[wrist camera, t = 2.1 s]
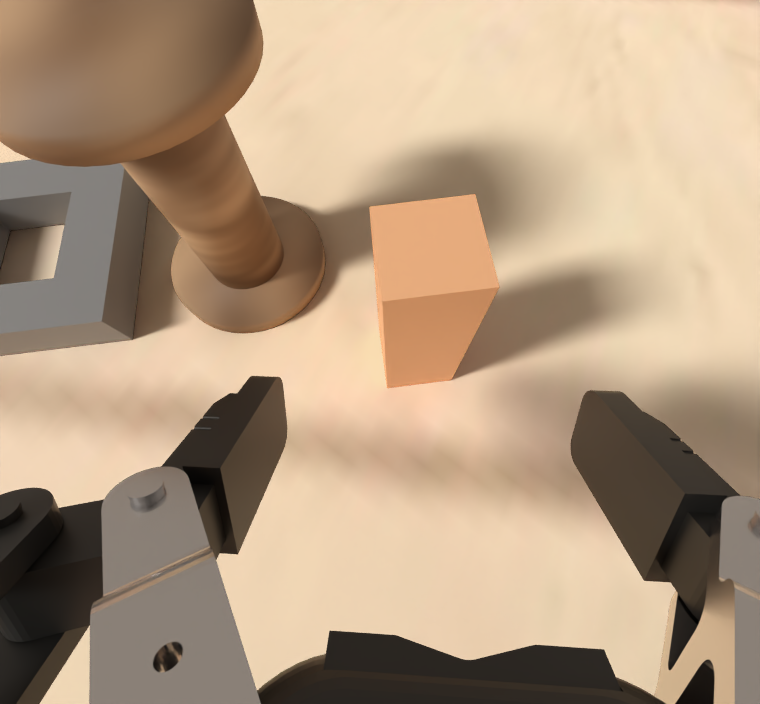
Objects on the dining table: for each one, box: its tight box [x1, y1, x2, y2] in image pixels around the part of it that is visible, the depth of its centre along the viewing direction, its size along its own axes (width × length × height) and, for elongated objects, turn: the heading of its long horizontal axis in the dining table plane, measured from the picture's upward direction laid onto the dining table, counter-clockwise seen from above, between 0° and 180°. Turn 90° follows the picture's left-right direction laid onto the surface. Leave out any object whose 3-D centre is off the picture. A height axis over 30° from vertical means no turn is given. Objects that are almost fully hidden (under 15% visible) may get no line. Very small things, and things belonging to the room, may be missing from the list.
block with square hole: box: [0, 159, 149, 356], centre depth 23 cm, size 12×12×2 cm
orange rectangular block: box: [369, 194, 499, 388], centre depth 17 cm, size 4×4×10 cm
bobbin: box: [0, 0, 325, 333], centre depth 17 cm, size 9×9×13 cm
